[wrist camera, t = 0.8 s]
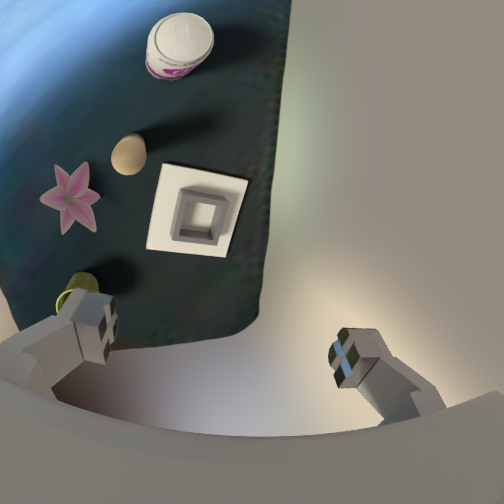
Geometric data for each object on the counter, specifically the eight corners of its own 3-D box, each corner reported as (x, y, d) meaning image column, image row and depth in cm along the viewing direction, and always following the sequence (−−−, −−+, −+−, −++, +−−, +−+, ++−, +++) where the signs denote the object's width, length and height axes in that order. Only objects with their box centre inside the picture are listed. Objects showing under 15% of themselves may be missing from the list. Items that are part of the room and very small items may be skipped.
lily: (97, 229, 46) (113, 231, 40) (40, 238, 38) (42, 242, 31) (95, 165, 44) (110, 154, 38) (36, 169, 36) (39, 159, 29)
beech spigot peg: (122, 131, 39) (115, 137, 28) (147, 135, 42) (150, 142, 30) (117, 156, 41) (108, 172, 30) (141, 160, 43) (142, 177, 32)
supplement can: (198, 75, 40) (222, 59, 27) (150, 86, 38) (154, 74, 26) (189, 34, 35) (211, 4, 23) (141, 45, 33) (143, 16, 21)
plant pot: (115, 289, 52) (114, 317, 45) (82, 309, 51) (78, 337, 44) (88, 255, 47) (82, 280, 40) (55, 278, 45) (46, 304, 38)
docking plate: (162, 162, 45) (165, 167, 41) (245, 179, 52) (255, 185, 48) (146, 245, 51) (147, 257, 47) (223, 254, 58) (230, 265, 54)
